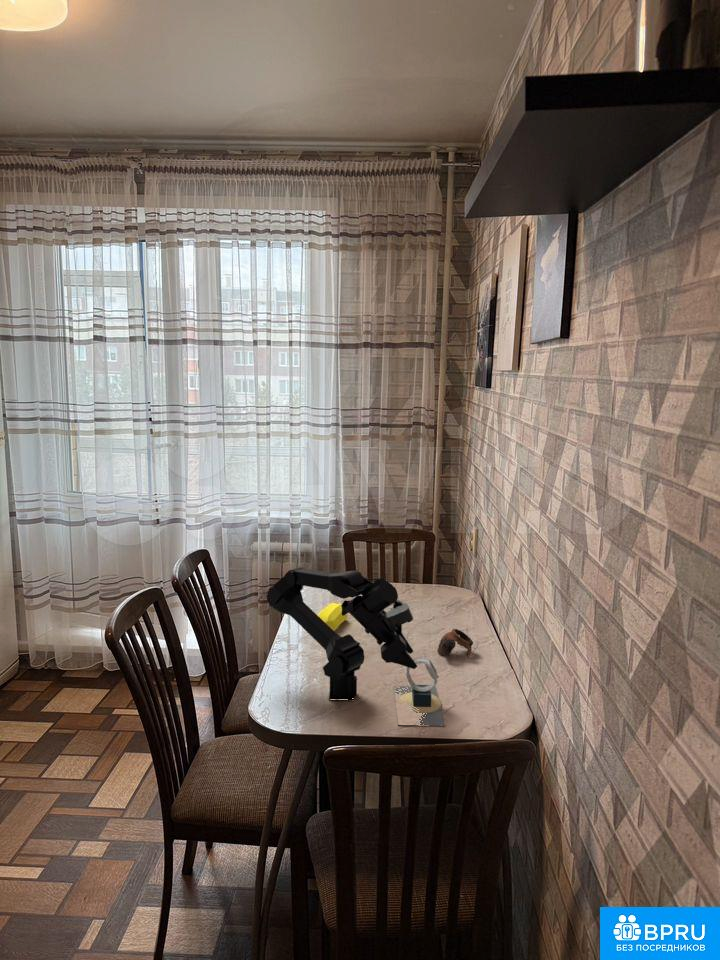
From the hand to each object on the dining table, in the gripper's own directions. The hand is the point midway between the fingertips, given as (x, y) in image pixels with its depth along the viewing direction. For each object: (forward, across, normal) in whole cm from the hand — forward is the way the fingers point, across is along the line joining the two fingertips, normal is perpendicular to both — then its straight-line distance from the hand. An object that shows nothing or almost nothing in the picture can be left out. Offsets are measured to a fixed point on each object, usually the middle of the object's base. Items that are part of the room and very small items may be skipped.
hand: (413, 659), depth 163 cm
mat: (+9, -1, +7) cm, 12 cm away
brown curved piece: (+19, +30, -2) cm, 35 cm away
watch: (+10, 0, +6) cm, 11 cm away
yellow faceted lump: (-7, +53, +24) cm, 58 cm away
